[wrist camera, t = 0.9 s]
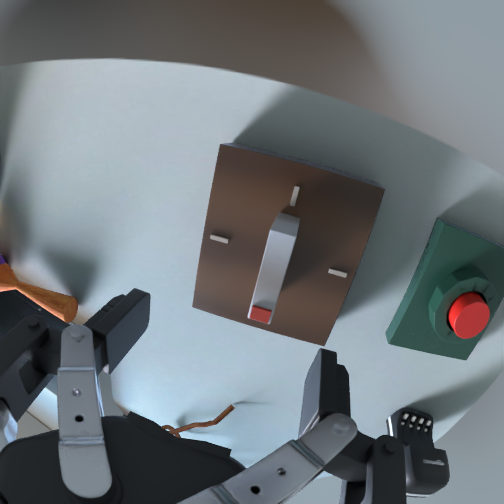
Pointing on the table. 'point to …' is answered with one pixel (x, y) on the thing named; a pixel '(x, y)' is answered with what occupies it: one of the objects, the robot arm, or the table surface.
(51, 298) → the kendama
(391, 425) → the battery charger
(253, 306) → the tap handle
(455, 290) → the button box
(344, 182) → the block
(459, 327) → the button
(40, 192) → the table surface
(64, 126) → the table surface
